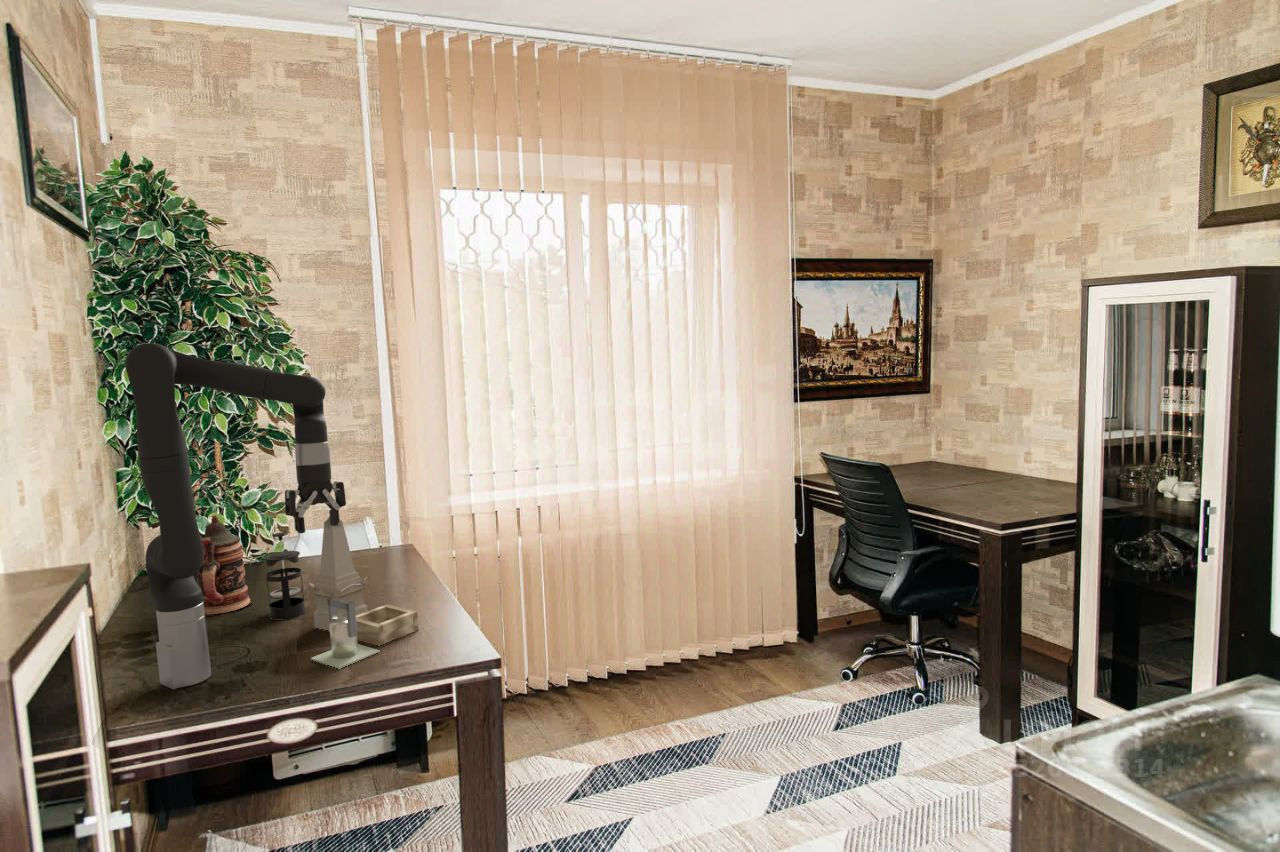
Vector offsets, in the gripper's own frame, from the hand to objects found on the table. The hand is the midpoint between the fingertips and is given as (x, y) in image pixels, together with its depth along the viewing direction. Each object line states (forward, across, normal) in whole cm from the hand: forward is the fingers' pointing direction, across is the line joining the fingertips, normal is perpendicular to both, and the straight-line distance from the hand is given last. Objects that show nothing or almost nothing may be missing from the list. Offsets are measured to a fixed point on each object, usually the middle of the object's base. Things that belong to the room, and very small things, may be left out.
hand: (317, 529), depth 187 cm
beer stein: (+30, -3, -58) cm, 65 cm away
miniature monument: (+30, -13, -14) cm, 36 cm away
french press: (+30, -11, -36) cm, 48 cm away
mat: (+30, -1, +6) cm, 31 cm away
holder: (+30, -15, +2) cm, 33 cm away
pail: (+30, -1, +6) cm, 30 cm away
